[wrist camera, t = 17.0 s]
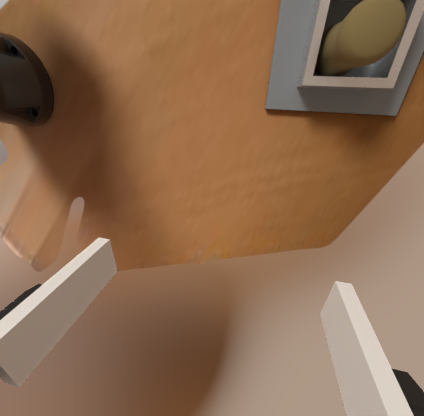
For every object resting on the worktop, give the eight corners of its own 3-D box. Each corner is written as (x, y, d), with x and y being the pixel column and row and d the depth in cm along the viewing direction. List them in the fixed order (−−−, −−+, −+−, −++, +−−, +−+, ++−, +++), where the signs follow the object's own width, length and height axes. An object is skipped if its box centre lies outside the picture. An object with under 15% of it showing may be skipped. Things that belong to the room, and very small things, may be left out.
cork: (326, 89, 29) (358, 85, 20) (302, 52, 28) (324, 28, 18) (372, 52, 27) (434, 27, 17) (347, 8, 25) (400, -45, 16)
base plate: (265, 108, 33) (265, 108, 32) (286, -37, 25) (287, -42, 25) (392, 115, 30) (396, 115, 29) (460, -48, 22) (467, -54, 21)
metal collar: (296, 87, 30) (302, 85, 26) (316, -8, 25) (326, -30, 21) (373, 90, 28) (393, 88, 24) (409, -12, 24) (442, -36, 19)
